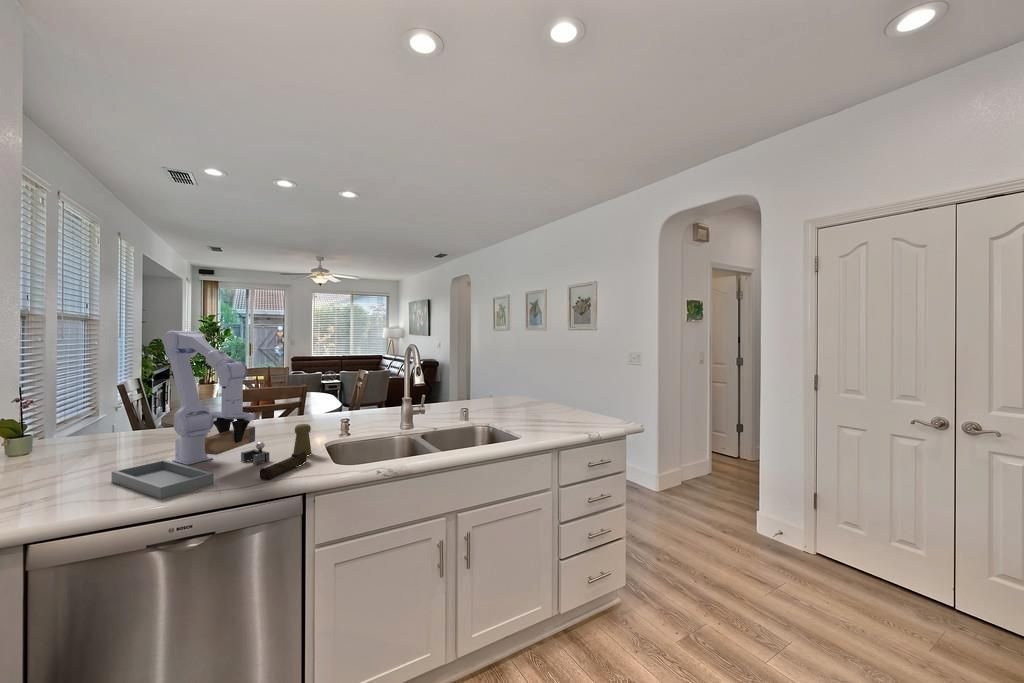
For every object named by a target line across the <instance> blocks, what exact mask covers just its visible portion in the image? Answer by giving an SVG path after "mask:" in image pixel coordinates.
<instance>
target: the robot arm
mask: <svg viewBox="0 0 1024 683" xmlns="http://www.w3.org/2000/svg"><path fill="white" fill-rule="evenodd" d="M162 342H163V344H162V345H163V348H164V352H165V354H166V355H165V356H166V358H169V362H170V367H171V370H172V371H171V372H172V374H173V379H174V382H175V387H176V390H177V396H178V401H179V403H180V408H179V409H178V410H177V411H176V412H175V413H174V414H173V430H174V431H175V434H177V435H178V436H177V437H176V439H175V451H174V452H175V455H174V456H175V458H172V459H171V462H175V463H179V464H182V465H186V466H189V465H193V464H197V463H200V462H205V461H210V460H213V459H214V457H213V456H210V455H208V454H205V437H209V436H208V433H211V430H212V429H213V428H214V426H215V428H216V430H217V431H218V434H219V433H222V432H226V431H229V430H231V425H232V428H233V429H234V439H235V443H238V442H241V441H242V438H243V435H244V432H245V429H246V427H247V426H249V424H250V422H251V421H252V422H253V421H255V420H256V414H255V413H252V412H244V411H243V409H244V408H243V405H244V404H243V402H244V400H243V399H244V398H243V396H244V395H243V394H244V390H243V389H244V379H245V378H246V377H247V375H248V366H247V365H246V364H245V362H244V361H242V360H241V361H240V360H239V361H238V360H235V359H233V357H231V356H229V355H228V354H227V353H226V352H225V350H223V349H215V348H214V347H213V346H212V345H211V344H210V343H209V342H208V341H207V340H206V334H204V333H203V332H202V331H201V330H188V331H187V330H168V331H167V332H166V333H165V335H164V337H163V339H162ZM198 353H199V354H200V355H202V356H203V357H205V362H206V364H207V365H209V367H211V368H212V369H213V370H215V371H216V376H217V378H218V381H219V386H221V397H220V398H221V400H220V402H221V410H220V411H210V408H209V407H208V406H206V405H204V404H202V403H201V401H200V398H199V393H198V388H197V383H196V380H195V376H194V372H193V369H192V365H191V358H194V357H196V356H197V354H198ZM215 419H216V420H215ZM233 420H234V421H233Z"/></svg>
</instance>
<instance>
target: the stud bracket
mask: <svg viewBox="0 0 1024 683" xmlns="http://www.w3.org/2000/svg"><path fill="white" fill-rule="evenodd" d="M265 446H266V444H265V443H264V442H263V441H259V442H257V443H256V445H255V448H253V449H249V450H246V451H241V452H240V462H242V461H246V462H248V461H247V460H250V461H252V465H254V464H258V465H260V464H259V463H261V464H264V463H263V462H265V463H267V462H266V461H269V462H270V452H269V451H265V450H263V449H264V448H265ZM251 459H253V460H251Z"/></svg>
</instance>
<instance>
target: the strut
mask: <svg viewBox="0 0 1024 683" xmlns="http://www.w3.org/2000/svg"><path fill="white" fill-rule="evenodd" d="M254 442H256V426H252V425H251V426H250V425H248V426H247V427H246V429H245V432H244V435H243V438H242V441H241V442H238V443H235V439H234V428H233V429H230V430H229V431H226V432H222V433H219V432H218V433H216V434H213V435H209V436H208V437H205V454H207V455H212V456H214V455H215V456H217V455H221V454H223V453H225V452H229V451H231V450H234V449H238V448H240V447H242V446H246V445H248V444H252V443H254Z"/></svg>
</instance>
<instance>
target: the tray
mask: <svg viewBox="0 0 1024 683" xmlns="http://www.w3.org/2000/svg"><path fill="white" fill-rule="evenodd" d="M214 474H215V473H214V472H210V471H206V470H203V469H199V468H196V467H193V466H189V465H186V464H183V463H179V462H175V461H172V460H171V461H170V460H167V459H162V460H161V459H160V460H158V461H153V462H149V463H144V464H139V465H134V466H130V467H124V468H121V469H117V470H112V471H111V483H113V482H114V484H116V483H117V484H116V485H119V484H120V486H122V487H125V488H128V489H130V488H131V490H134V491H137V492H138V493H139V492H140V493H142V494H145V495H147V496H149V497H153V498H155V499H156V498H157V499H159V500H162V499H165V498H170V497H173V496H176V495H180V494H184V493H186V491H187V492H189V490H190V491H193V490H192V489H194V490H196V489H195V488H197V489H199V488H198V487H200V488H203V487H202V486H204V487H206V486H205V485H207V486H210V485H209V484H211V485H214V484H213V483H215V481H214V478H215V477H214Z"/></svg>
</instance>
